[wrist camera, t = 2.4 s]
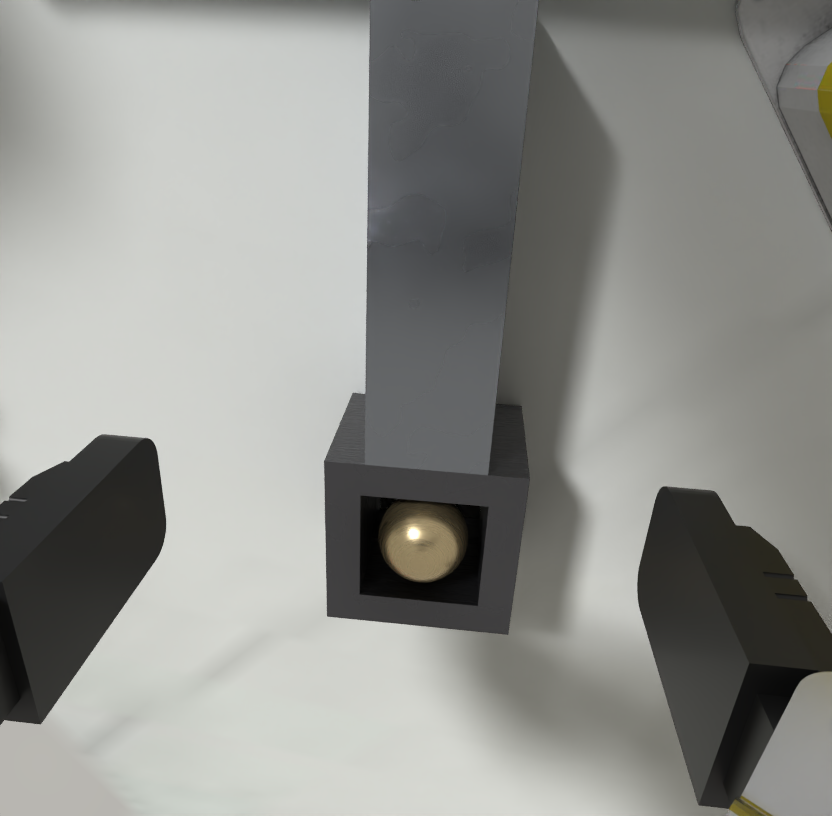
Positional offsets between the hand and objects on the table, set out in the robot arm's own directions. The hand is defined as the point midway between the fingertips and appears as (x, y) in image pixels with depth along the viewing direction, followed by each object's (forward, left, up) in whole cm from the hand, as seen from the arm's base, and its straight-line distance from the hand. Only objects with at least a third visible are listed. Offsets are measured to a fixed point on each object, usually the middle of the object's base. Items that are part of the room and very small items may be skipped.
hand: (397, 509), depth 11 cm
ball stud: (+5, 0, -9) cm, 10 cm away
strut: (0, 0, -9) cm, 9 cm away
